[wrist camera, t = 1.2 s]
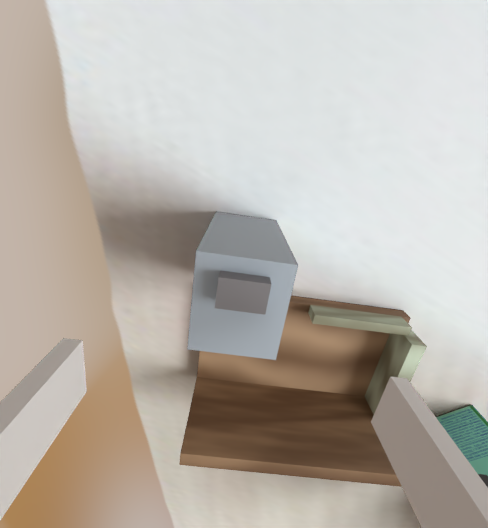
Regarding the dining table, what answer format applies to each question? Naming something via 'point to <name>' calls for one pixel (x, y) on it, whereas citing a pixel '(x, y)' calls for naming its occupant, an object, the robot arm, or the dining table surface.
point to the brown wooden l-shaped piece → (304, 396)
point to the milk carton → (469, 435)
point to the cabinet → (241, 287)
